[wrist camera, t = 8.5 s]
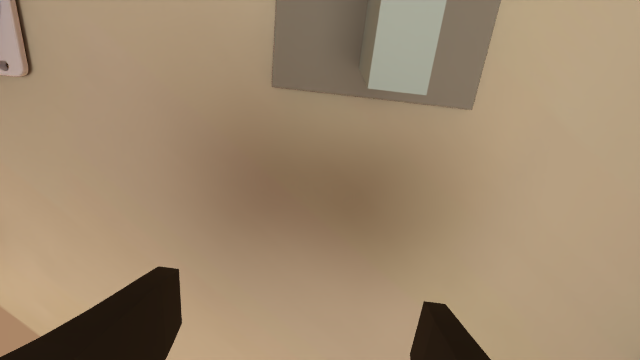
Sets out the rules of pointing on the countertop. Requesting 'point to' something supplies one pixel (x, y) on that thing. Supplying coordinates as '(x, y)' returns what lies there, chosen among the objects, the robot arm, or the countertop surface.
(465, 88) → the rubber mat
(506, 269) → the countertop surface
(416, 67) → the grey square slab
